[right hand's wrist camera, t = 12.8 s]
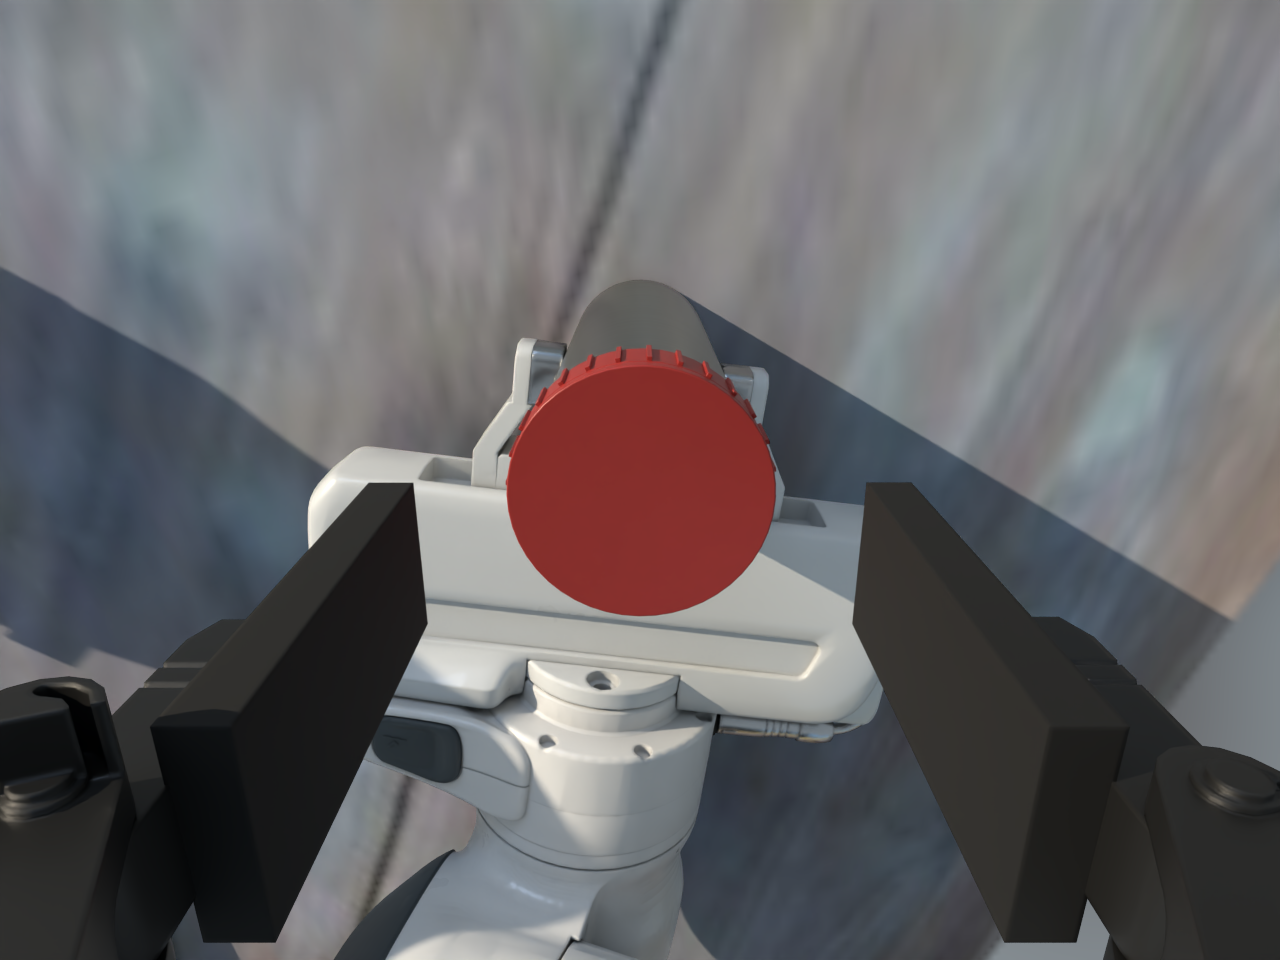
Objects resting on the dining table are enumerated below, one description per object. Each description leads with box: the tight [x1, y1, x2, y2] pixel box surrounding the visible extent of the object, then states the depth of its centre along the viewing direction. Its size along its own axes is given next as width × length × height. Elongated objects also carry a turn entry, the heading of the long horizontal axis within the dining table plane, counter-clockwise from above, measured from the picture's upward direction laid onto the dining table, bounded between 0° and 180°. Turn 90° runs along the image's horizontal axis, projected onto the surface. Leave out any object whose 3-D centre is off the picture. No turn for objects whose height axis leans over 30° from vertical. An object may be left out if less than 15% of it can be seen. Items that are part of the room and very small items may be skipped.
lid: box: [506, 345, 776, 616], centre depth 17 cm, size 6×6×2 cm
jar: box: [554, 280, 726, 382], centre depth 24 cm, size 5×5×16 cm
